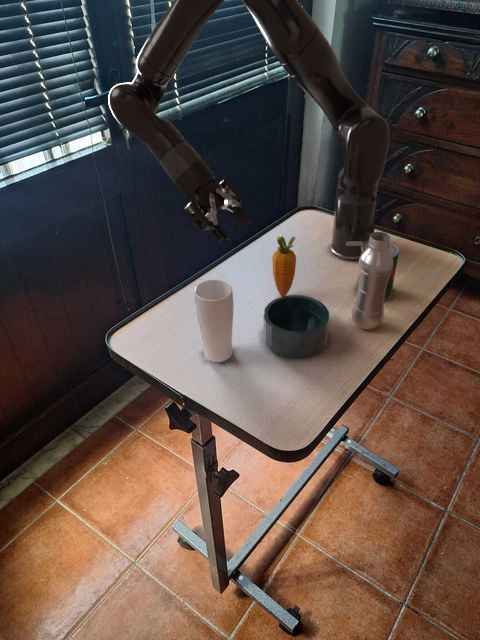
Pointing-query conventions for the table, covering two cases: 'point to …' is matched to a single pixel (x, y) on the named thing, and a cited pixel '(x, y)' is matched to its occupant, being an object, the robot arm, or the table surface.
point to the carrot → (284, 266)
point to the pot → (296, 326)
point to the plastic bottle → (372, 282)
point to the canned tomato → (394, 253)
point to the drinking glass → (215, 318)
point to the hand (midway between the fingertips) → (237, 232)
